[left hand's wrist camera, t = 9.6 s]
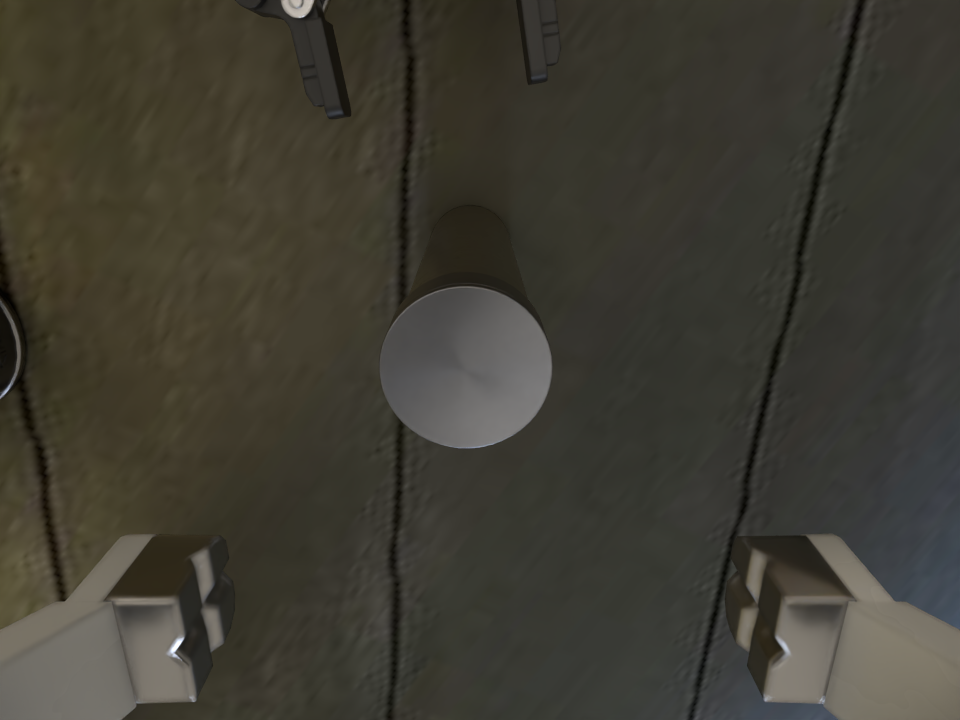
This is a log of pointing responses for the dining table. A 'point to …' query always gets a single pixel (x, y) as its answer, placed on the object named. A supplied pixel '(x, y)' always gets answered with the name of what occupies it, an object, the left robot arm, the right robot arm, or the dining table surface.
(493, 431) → the lid
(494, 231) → the dark grey cylindrical bottle
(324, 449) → the dining table surface
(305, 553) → the dining table surface
